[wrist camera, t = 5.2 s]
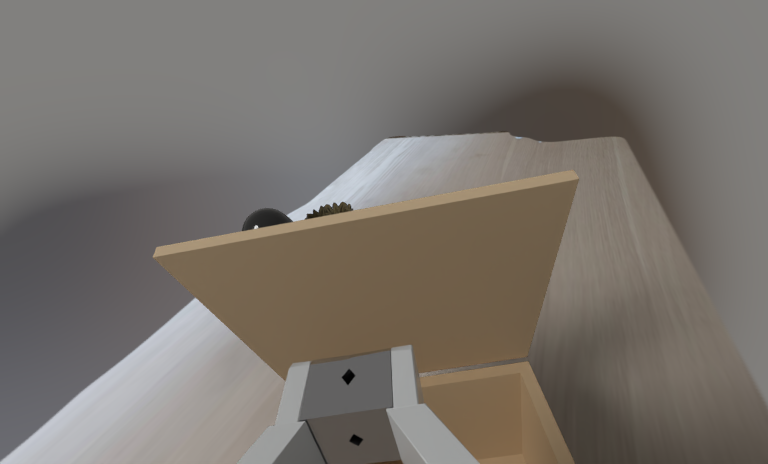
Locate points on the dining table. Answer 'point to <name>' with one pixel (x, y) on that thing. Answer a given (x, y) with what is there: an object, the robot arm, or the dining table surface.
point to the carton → (497, 415)
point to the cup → (330, 210)
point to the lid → (389, 276)
